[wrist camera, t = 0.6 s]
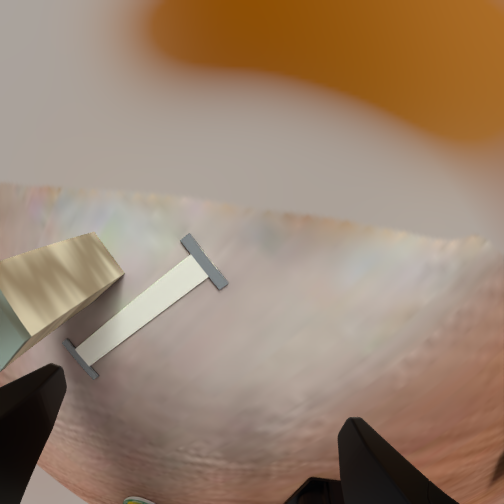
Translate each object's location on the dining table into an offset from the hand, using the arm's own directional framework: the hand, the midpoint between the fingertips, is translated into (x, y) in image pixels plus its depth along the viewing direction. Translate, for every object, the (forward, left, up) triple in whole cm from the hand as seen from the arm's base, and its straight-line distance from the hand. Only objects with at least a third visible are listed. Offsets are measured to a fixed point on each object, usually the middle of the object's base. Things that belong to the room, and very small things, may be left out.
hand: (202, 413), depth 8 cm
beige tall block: (-4, +11, -14) cm, 18 cm away
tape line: (-6, +6, -14) cm, 17 cm away
